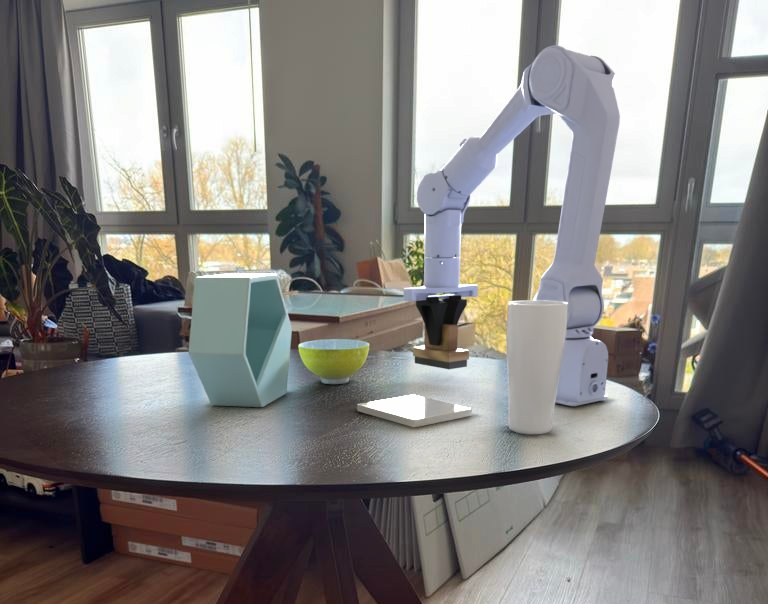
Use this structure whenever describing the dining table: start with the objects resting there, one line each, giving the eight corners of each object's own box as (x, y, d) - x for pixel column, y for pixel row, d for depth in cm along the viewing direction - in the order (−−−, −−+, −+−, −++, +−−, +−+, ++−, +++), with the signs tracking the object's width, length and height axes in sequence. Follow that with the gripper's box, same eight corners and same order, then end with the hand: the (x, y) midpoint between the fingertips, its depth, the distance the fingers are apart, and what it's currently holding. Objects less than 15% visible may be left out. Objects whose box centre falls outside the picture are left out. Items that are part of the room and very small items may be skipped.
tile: (471, 415, 95) (472, 408, 95) (413, 427, 89) (413, 419, 89) (413, 401, 104) (413, 394, 104) (357, 411, 98) (356, 404, 98)
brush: (468, 366, 119) (470, 325, 117) (448, 369, 117) (449, 327, 114) (432, 360, 126) (433, 321, 124) (412, 363, 123) (412, 323, 121)
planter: (272, 434, 105) (231, 320, 89) (222, 431, 107) (173, 319, 90) (299, 355, 115) (267, 239, 98) (253, 353, 116) (214, 239, 100)
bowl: (339, 391, 111) (337, 350, 109) (285, 383, 118) (283, 344, 116) (383, 380, 120) (383, 342, 118) (331, 373, 126) (330, 337, 124)
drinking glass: (546, 440, 83) (556, 305, 78) (492, 432, 87) (498, 303, 81) (566, 427, 89) (576, 301, 83) (514, 421, 92) (521, 299, 87)
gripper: (458, 256, 122) (456, 338, 127) (391, 258, 114) (391, 345, 119) (488, 256, 117) (484, 342, 122) (420, 258, 109) (419, 350, 114)
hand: (440, 344), depth 120 cm, fingers closed on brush, 2 cm apart
